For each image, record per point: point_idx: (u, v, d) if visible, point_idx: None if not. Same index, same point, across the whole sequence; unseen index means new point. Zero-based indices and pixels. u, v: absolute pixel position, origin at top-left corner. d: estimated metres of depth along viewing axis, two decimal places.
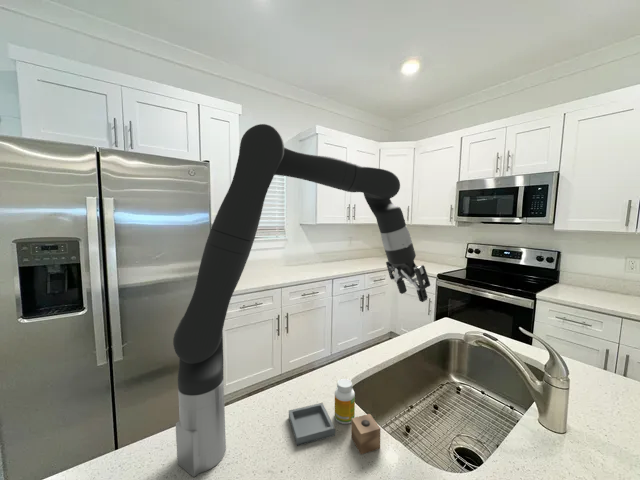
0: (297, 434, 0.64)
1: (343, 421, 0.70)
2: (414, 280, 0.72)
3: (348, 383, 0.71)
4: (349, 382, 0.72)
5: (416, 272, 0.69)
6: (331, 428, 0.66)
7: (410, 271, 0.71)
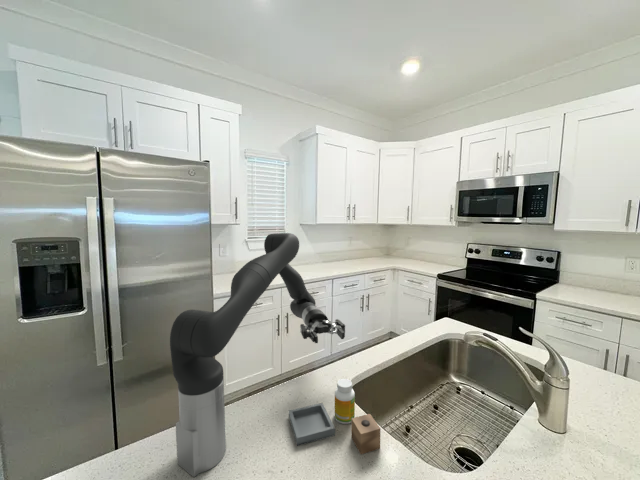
0: (297, 434, 0.64)
1: (343, 421, 0.70)
2: None
3: (348, 383, 0.71)
4: (349, 382, 0.72)
5: (337, 320, 0.92)
6: (331, 428, 0.66)
7: (330, 322, 0.91)
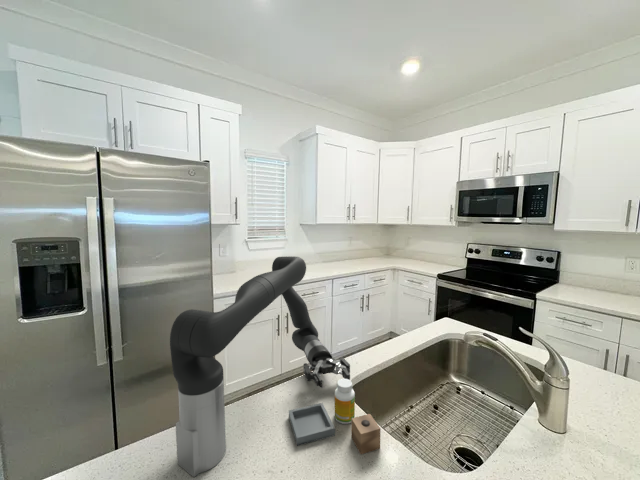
0: (297, 434, 0.64)
1: (343, 421, 0.70)
2: None
3: (348, 383, 0.71)
4: (349, 382, 0.72)
5: (342, 358, 0.89)
6: (331, 428, 0.66)
7: (335, 360, 0.88)
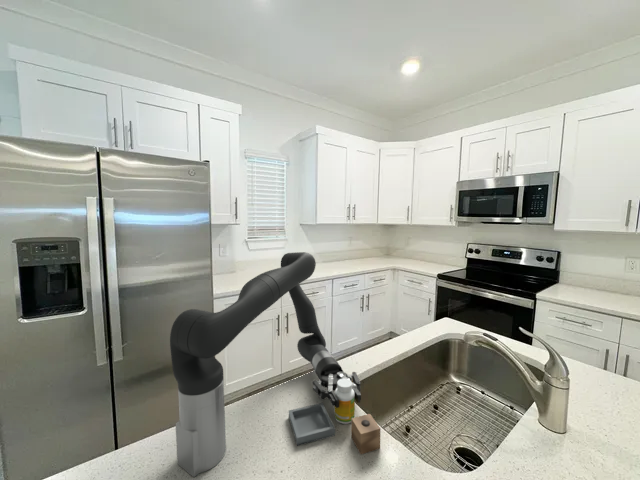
0: (297, 434, 0.64)
1: (343, 421, 0.70)
2: None
3: (347, 383, 0.71)
4: (349, 382, 0.72)
5: (354, 373, 0.80)
6: (331, 428, 0.66)
7: (346, 376, 0.79)
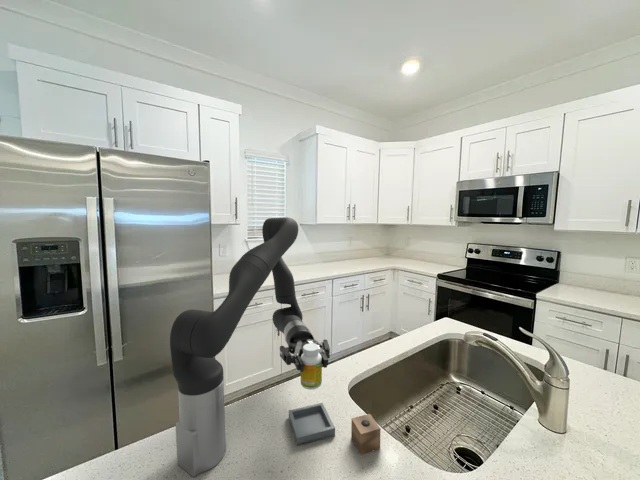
0: (297, 434, 0.64)
1: (308, 386, 0.66)
2: None
3: (314, 347, 0.67)
4: (316, 346, 0.68)
5: (325, 341, 0.76)
6: (331, 428, 0.66)
7: (316, 343, 0.75)
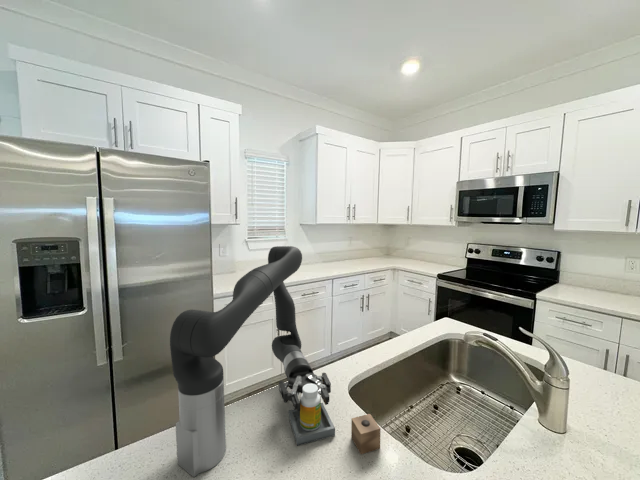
0: (297, 434, 0.64)
1: (307, 428, 0.67)
2: None
3: (313, 389, 0.68)
4: (315, 387, 0.69)
5: (324, 374, 0.77)
6: (331, 428, 0.66)
7: (315, 377, 0.76)
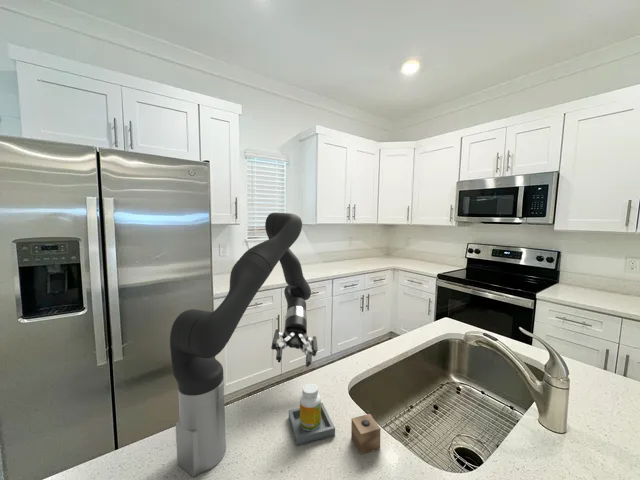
0: (297, 434, 0.64)
1: (307, 428, 0.67)
2: None
3: (313, 389, 0.68)
4: (315, 387, 0.69)
5: (314, 338, 0.88)
6: (331, 428, 0.66)
7: (306, 338, 0.87)
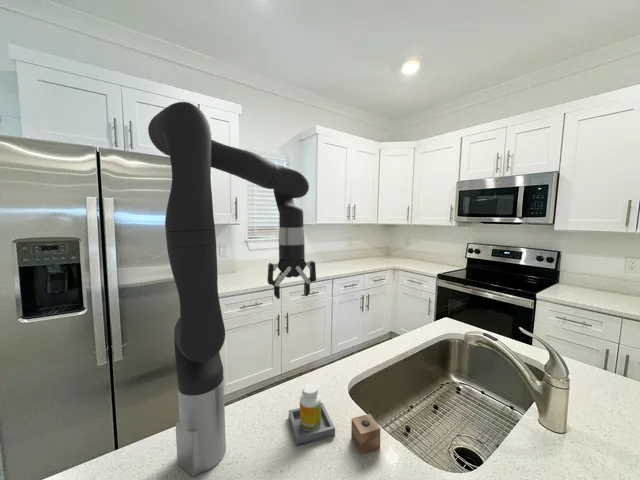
0: (297, 434, 0.64)
1: (307, 428, 0.67)
2: (305, 275, 0.80)
3: (313, 389, 0.68)
4: (315, 387, 0.69)
5: (313, 265, 0.80)
6: (331, 428, 0.66)
7: (304, 266, 0.80)
